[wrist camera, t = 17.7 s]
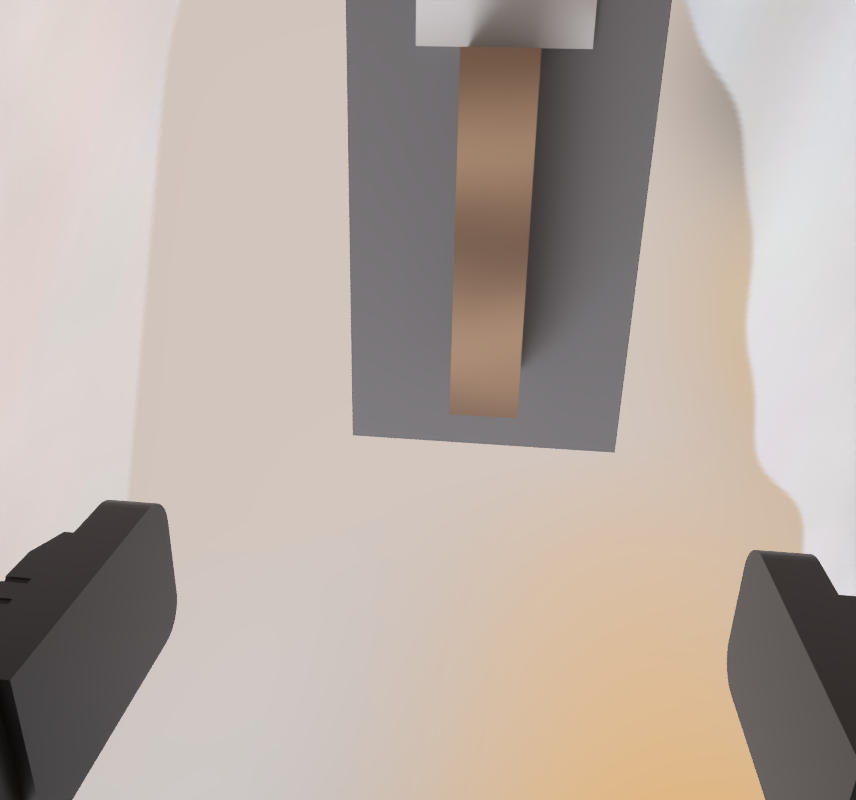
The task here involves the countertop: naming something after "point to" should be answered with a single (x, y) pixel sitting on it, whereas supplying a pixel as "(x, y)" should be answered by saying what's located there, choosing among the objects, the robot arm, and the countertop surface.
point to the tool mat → (548, 238)
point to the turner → (495, 178)
